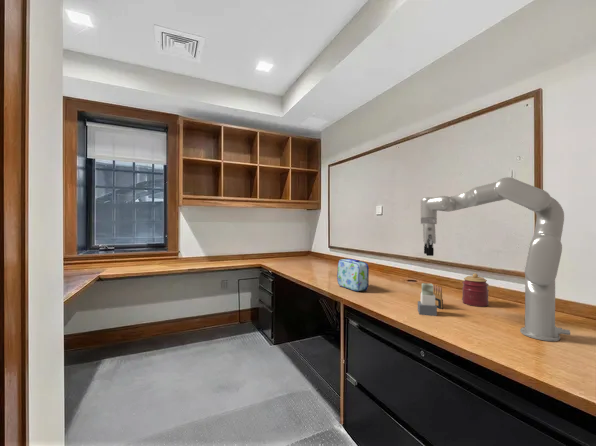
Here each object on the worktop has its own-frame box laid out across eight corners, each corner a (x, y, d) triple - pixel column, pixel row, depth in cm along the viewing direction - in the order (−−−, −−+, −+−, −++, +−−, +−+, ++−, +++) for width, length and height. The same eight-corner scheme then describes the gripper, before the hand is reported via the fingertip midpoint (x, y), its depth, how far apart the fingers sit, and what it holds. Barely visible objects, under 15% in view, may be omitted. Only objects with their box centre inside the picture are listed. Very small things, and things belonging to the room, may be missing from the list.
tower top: (432, 302, 149) (432, 293, 149) (435, 305, 143) (435, 295, 143) (420, 301, 150) (420, 292, 150) (422, 304, 145) (422, 294, 145)
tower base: (434, 311, 149) (434, 302, 149) (436, 316, 142) (436, 306, 142) (417, 310, 152) (417, 301, 152) (419, 315, 144) (419, 305, 144)
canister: (473, 300, 172) (473, 271, 172) (494, 306, 160) (494, 274, 160) (456, 301, 168) (457, 272, 168) (476, 307, 156) (476, 275, 156)
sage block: (432, 293, 148) (432, 283, 148) (433, 295, 143) (433, 285, 143) (421, 292, 150) (421, 283, 150) (422, 294, 145) (422, 285, 145)
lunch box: (371, 291, 191) (371, 260, 191) (358, 293, 186) (358, 261, 186) (347, 284, 215) (347, 256, 215) (335, 285, 210) (336, 257, 210)
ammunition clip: (443, 308, 154) (443, 286, 154) (440, 309, 153) (440, 287, 153) (429, 303, 164) (430, 282, 164) (427, 303, 164) (427, 282, 164)
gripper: (439, 221, 137) (439, 256, 137) (434, 221, 153) (434, 253, 153) (422, 221, 139) (422, 256, 139) (419, 221, 155) (419, 252, 155)
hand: (428, 254), depth 146 cm, fingers open, 9 cm apart
